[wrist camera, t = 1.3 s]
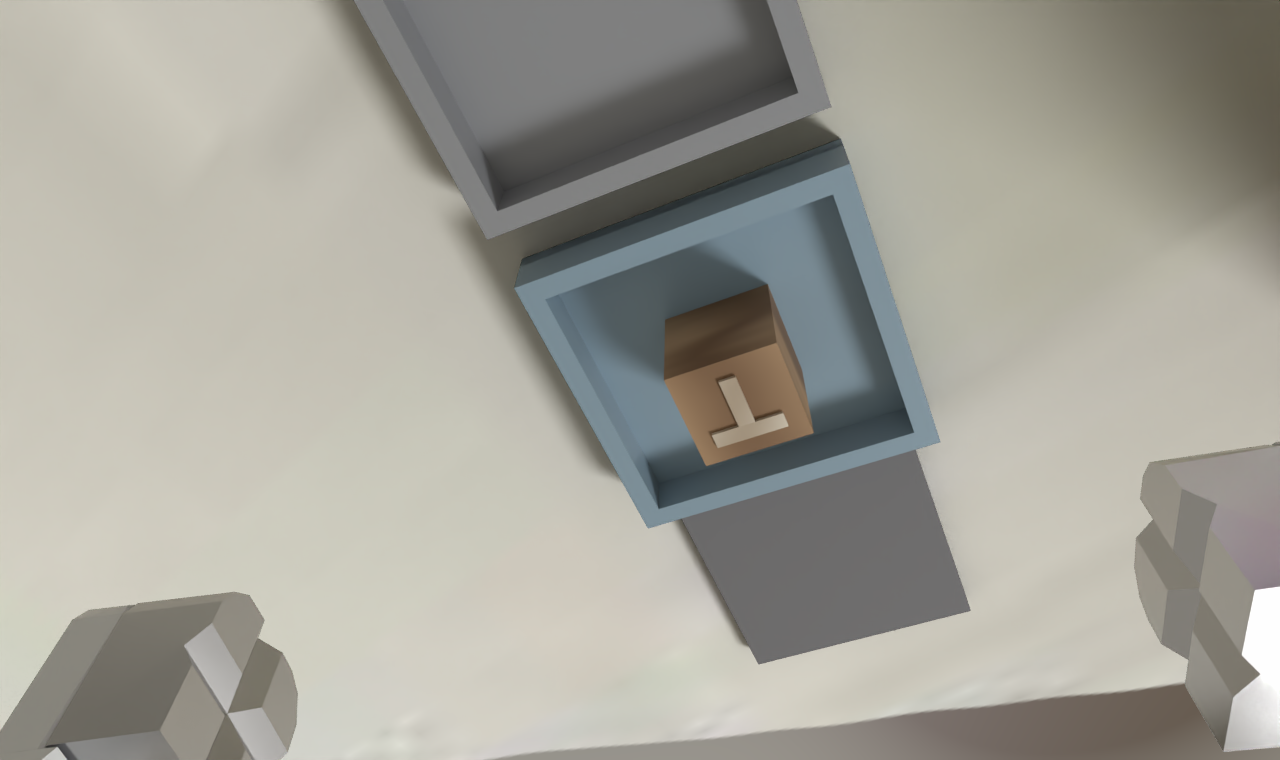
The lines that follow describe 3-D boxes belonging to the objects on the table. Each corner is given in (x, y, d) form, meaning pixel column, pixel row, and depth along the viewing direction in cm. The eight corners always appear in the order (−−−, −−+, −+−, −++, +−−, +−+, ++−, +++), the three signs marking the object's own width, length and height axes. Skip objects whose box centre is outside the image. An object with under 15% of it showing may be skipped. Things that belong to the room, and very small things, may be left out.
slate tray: (840, 138, 34) (850, 163, 32) (928, 408, 40) (940, 442, 38) (522, 259, 37) (514, 288, 35) (649, 493, 43) (648, 528, 41)
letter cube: (767, 283, 36) (777, 344, 33) (801, 369, 38) (814, 435, 35) (665, 319, 37) (663, 382, 34) (703, 401, 39) (706, 468, 36)
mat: (910, 434, 41) (914, 446, 40) (966, 597, 46) (970, 610, 45) (679, 503, 43) (679, 515, 42) (757, 651, 48) (758, 664, 48)
